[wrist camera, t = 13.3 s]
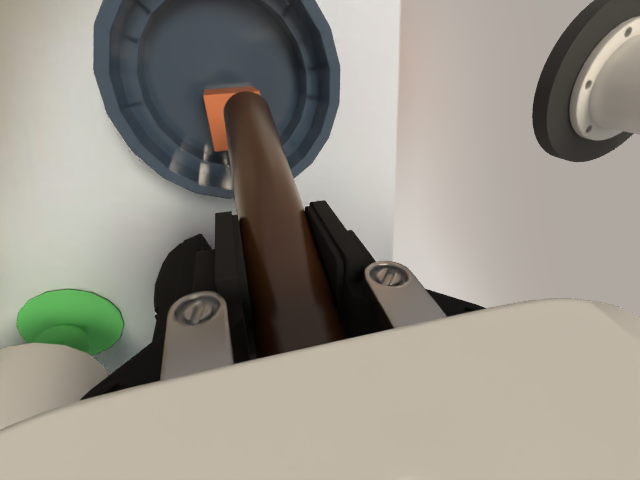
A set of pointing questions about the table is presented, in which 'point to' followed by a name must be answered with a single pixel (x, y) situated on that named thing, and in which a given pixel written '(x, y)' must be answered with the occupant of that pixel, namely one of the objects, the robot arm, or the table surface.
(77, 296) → the cup
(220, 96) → the block
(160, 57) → the bowl
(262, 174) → the stick
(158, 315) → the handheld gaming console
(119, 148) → the table surface
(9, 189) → the table surface
